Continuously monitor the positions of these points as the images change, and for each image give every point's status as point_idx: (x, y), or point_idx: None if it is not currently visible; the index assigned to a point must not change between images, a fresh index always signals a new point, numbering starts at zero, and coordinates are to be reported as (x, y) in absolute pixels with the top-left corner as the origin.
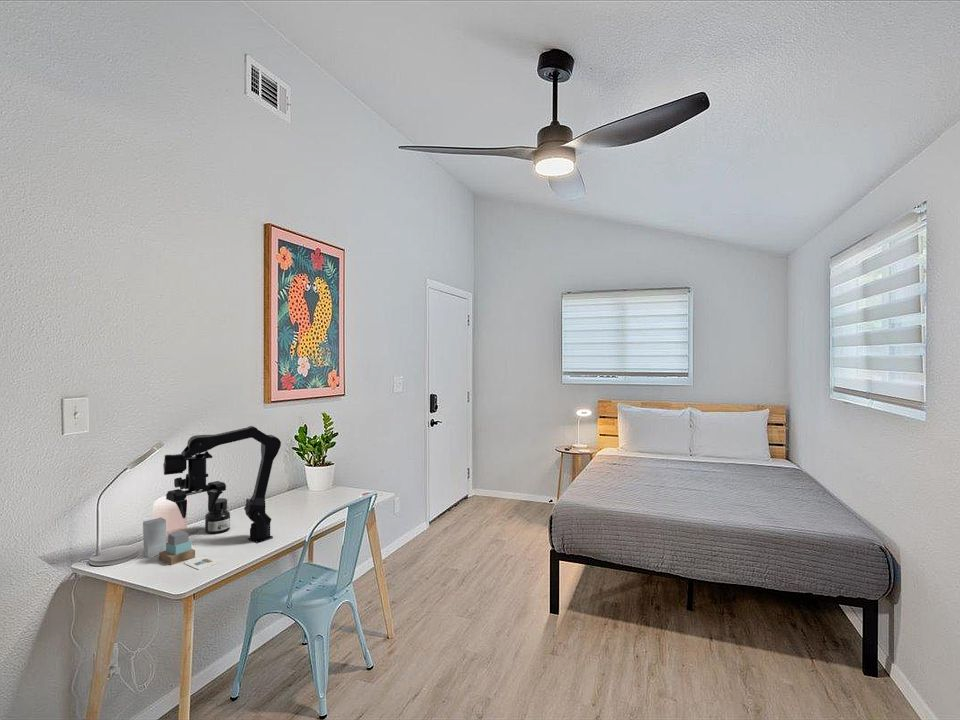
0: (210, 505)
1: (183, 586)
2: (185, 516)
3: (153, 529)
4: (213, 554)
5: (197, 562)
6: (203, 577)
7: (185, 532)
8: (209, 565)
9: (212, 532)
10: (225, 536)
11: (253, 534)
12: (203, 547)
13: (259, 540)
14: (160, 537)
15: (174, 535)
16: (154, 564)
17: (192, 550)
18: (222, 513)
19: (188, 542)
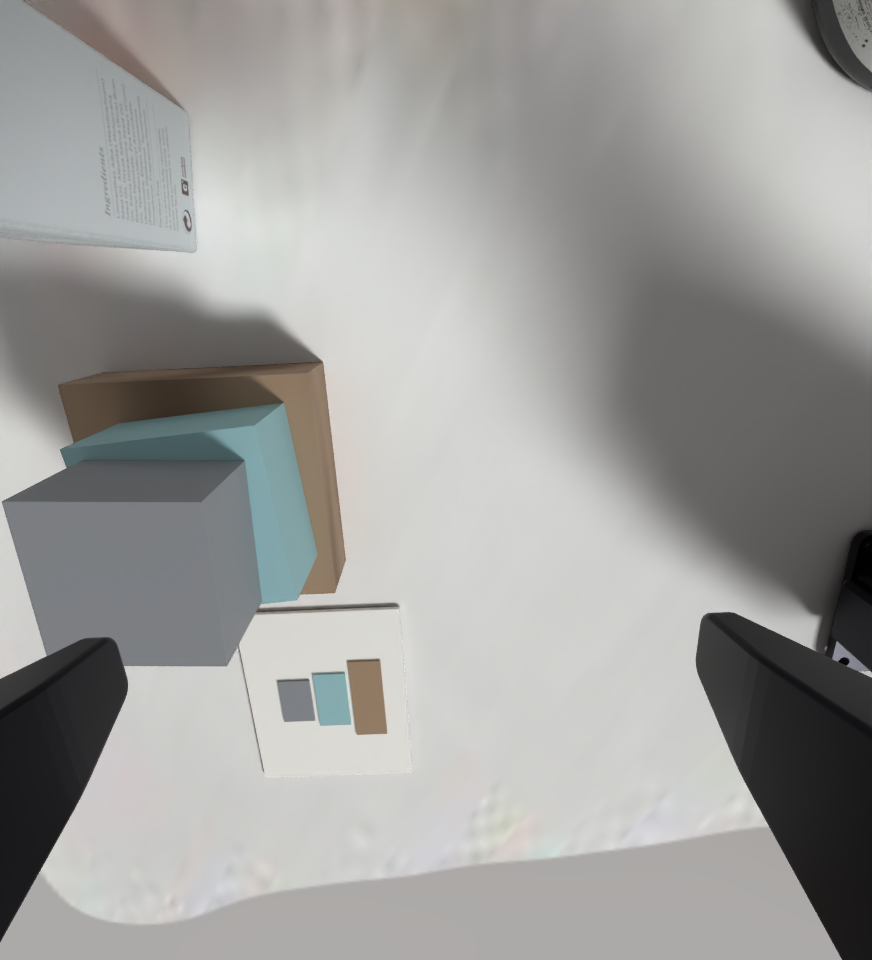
0: (788, 813)
1: (119, 891)
2: (104, 736)
3: None
4: (470, 610)
5: (304, 683)
6: (244, 871)
7: (210, 616)
8: (341, 773)
9: (831, 34)
10: (827, 261)
11: (870, 665)
12: (507, 394)
13: (855, 659)
14: (13, 232)
15: (61, 617)
16: (49, 450)
17: (314, 583)
18: None
19: (266, 599)
